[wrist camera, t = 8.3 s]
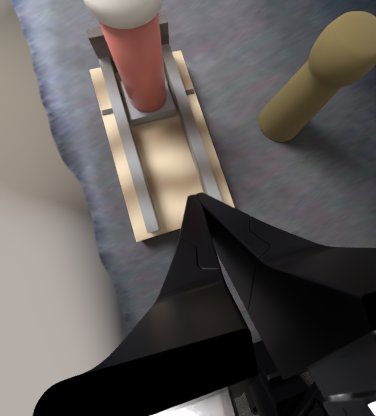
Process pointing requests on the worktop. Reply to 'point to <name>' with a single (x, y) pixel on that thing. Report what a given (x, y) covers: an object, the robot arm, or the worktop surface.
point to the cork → (322, 74)
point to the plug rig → (158, 144)
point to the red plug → (136, 54)
